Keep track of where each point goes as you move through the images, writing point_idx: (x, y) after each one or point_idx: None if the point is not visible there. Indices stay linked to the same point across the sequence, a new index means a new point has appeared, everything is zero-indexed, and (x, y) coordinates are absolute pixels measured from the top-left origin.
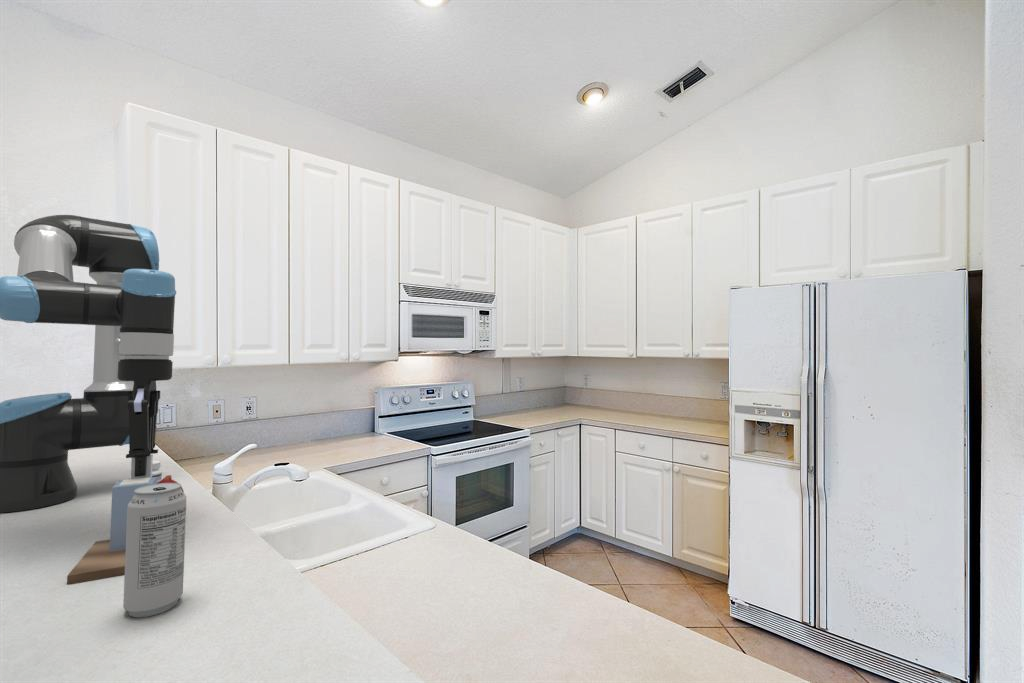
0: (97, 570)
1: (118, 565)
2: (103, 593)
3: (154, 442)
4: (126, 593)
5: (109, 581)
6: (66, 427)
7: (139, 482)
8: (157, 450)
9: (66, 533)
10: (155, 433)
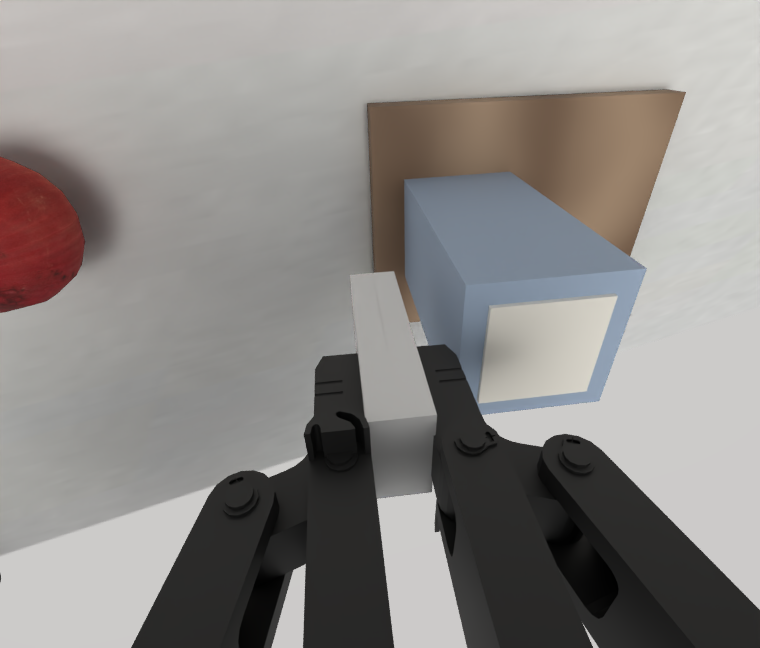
0: (629, 254)
1: (629, 216)
2: (721, 207)
3: (224, 523)
4: None
5: (653, 214)
6: None
7: (596, 328)
8: (343, 427)
9: (205, 410)
10: (148, 636)
